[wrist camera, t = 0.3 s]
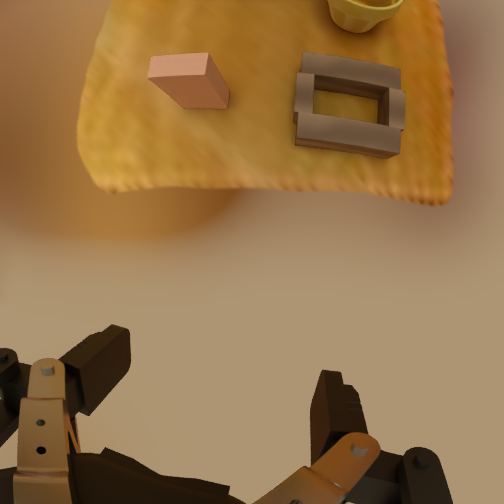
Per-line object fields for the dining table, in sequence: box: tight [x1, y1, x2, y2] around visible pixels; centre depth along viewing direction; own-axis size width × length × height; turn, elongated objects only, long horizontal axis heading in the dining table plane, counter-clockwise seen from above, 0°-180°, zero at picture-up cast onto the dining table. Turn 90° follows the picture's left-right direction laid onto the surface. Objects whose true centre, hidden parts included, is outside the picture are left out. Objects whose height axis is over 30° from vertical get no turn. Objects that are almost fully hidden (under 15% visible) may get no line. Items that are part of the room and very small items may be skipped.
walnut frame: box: [293, 52, 405, 159], centre depth 33 cm, size 11×13×5 cm
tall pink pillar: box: [147, 53, 230, 109], centre depth 31 cm, size 2×6×12 cm, turn 85°
